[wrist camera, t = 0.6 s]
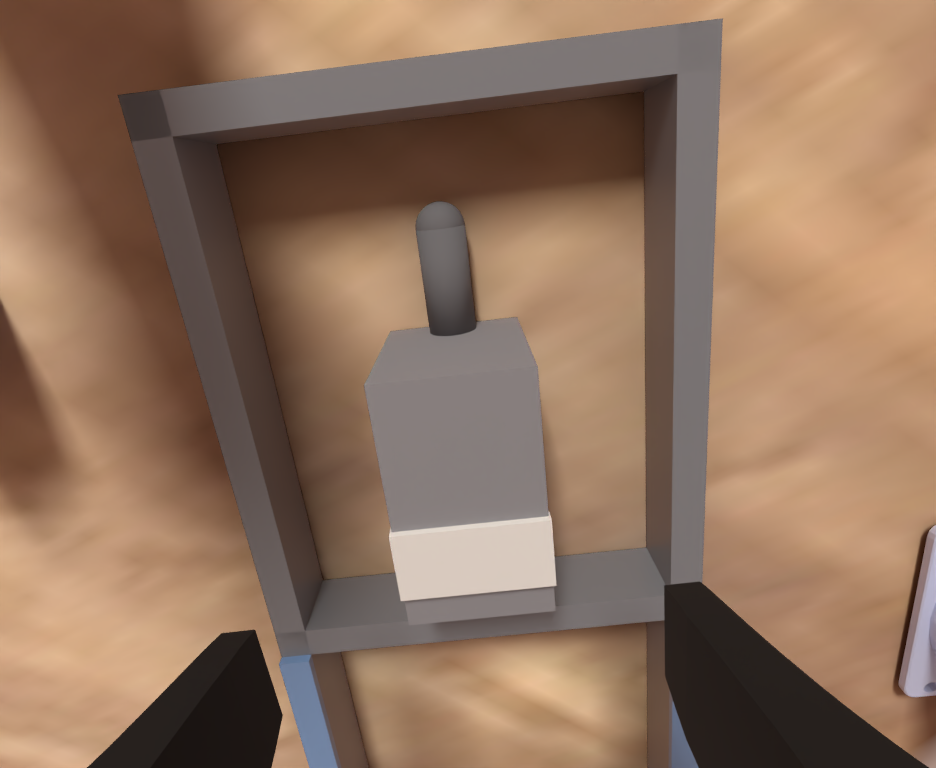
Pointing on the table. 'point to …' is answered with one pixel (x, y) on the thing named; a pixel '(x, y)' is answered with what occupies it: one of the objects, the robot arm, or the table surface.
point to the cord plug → (461, 449)
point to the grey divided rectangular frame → (252, 384)
